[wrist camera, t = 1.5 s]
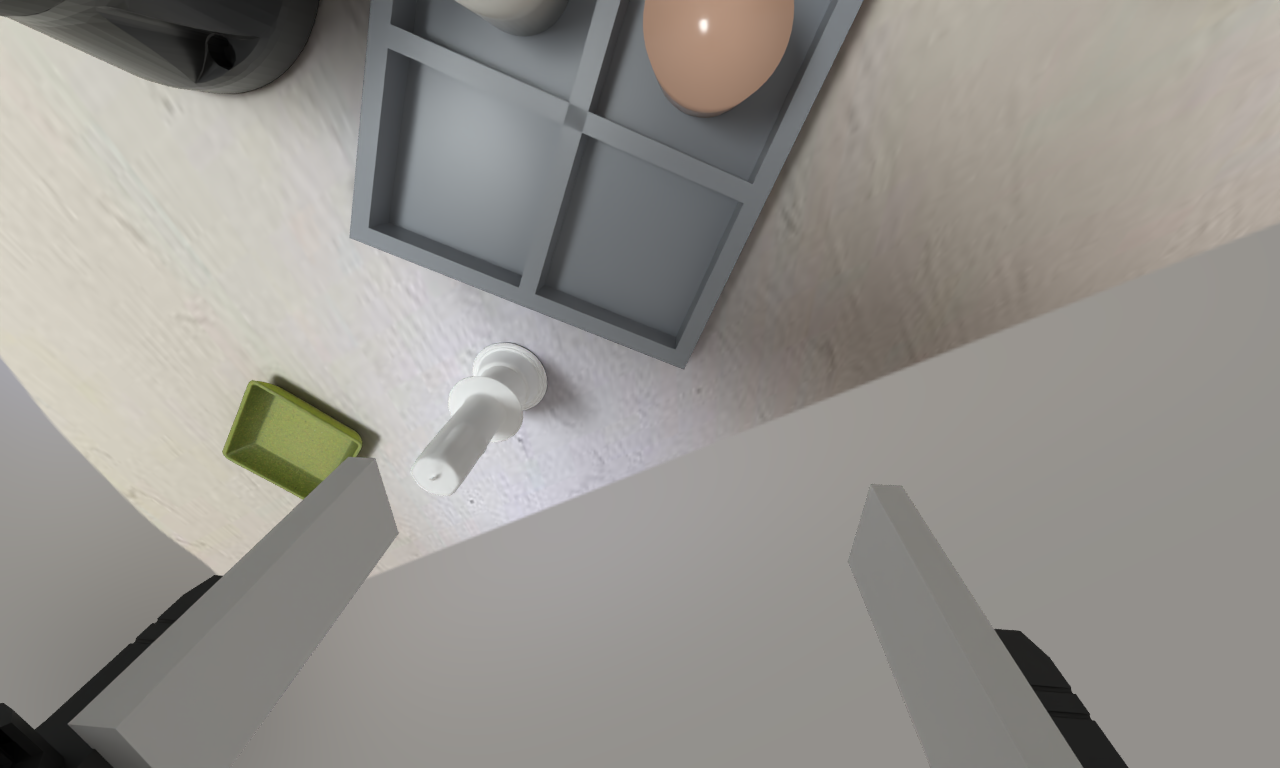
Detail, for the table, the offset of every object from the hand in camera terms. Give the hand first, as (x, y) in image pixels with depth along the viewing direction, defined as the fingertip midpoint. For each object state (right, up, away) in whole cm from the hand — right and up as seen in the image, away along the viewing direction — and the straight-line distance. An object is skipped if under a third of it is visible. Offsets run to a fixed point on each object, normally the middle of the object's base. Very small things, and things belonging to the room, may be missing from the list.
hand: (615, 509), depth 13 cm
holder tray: (-2, +18, +13) cm, 22 cm away
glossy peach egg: (+4, +20, +11) cm, 23 cm away
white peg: (-8, +4, +21) cm, 23 cm away
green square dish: (-26, -1, +25) cm, 36 cm away
